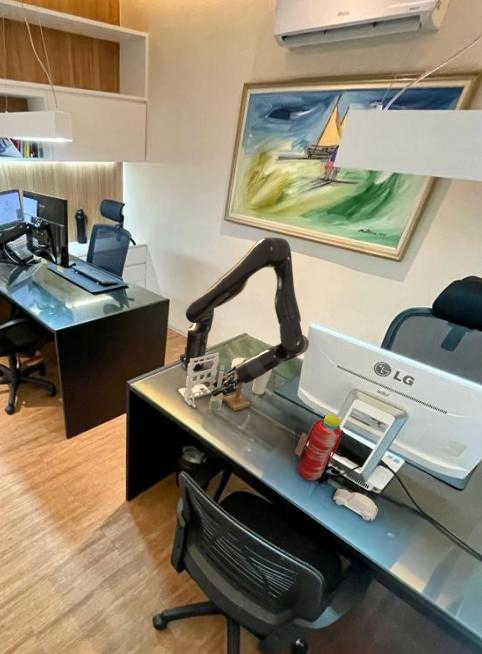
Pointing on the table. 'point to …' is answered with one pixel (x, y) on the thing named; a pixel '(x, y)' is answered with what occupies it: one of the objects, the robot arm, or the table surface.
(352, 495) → the car
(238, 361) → the white ribbed cylinder
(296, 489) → the table surface
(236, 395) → the stand
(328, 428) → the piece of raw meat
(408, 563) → the table surface
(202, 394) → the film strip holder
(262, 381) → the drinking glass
